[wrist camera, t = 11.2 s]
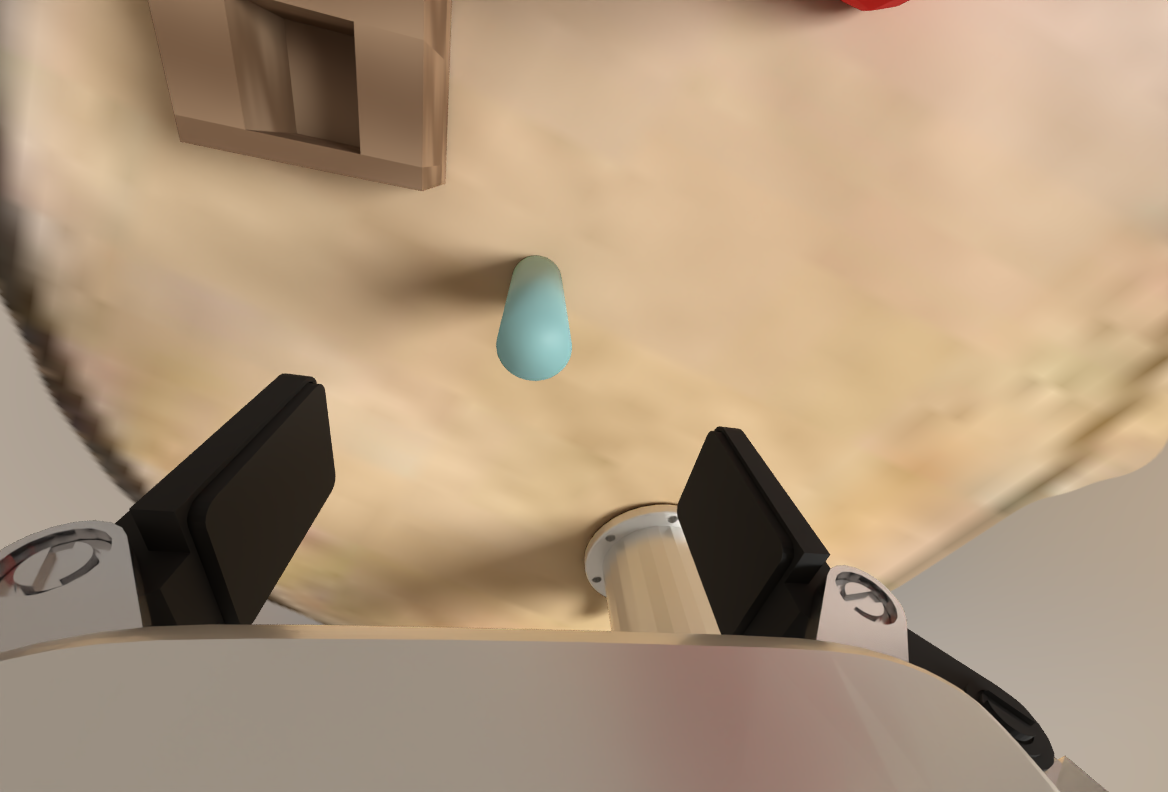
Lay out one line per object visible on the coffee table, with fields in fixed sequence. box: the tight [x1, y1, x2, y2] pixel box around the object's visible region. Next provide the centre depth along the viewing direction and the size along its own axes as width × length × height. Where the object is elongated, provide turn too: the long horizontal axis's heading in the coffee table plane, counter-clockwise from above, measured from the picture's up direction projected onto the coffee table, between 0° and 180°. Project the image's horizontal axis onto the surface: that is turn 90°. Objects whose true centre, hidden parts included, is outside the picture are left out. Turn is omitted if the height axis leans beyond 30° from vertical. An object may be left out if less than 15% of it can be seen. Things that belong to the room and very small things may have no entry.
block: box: [148, 0, 452, 191], centre depth 17 cm, size 9×9×5 cm
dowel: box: [496, 256, 572, 381], centre depth 21 cm, size 3×3×10 cm
